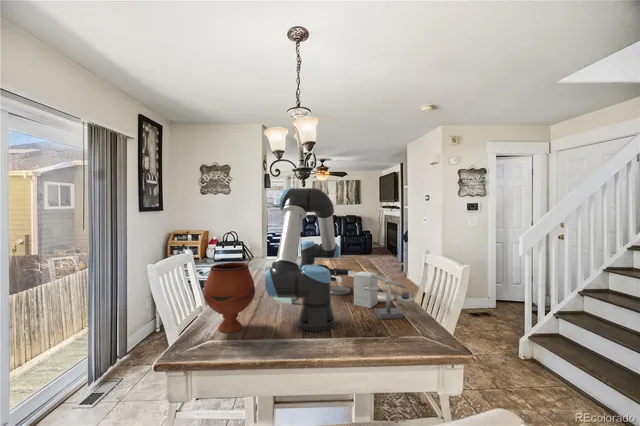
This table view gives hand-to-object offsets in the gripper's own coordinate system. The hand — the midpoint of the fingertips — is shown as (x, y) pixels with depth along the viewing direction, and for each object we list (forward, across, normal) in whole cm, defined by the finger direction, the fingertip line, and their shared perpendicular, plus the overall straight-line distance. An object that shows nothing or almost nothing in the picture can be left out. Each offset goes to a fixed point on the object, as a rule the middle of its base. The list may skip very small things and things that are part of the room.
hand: (350, 277), depth 155 cm
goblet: (-12, +60, -11) cm, 63 cm away
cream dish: (+10, -12, -11) cm, 20 cm away
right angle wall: (-24, +20, -12) cm, 33 cm away
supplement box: (+10, 0, -11) cm, 15 cm away
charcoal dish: (-13, -6, -11) cm, 18 cm away
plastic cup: (-45, +14, -12) cm, 48 cm away
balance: (+26, +6, -11) cm, 29 cm away
